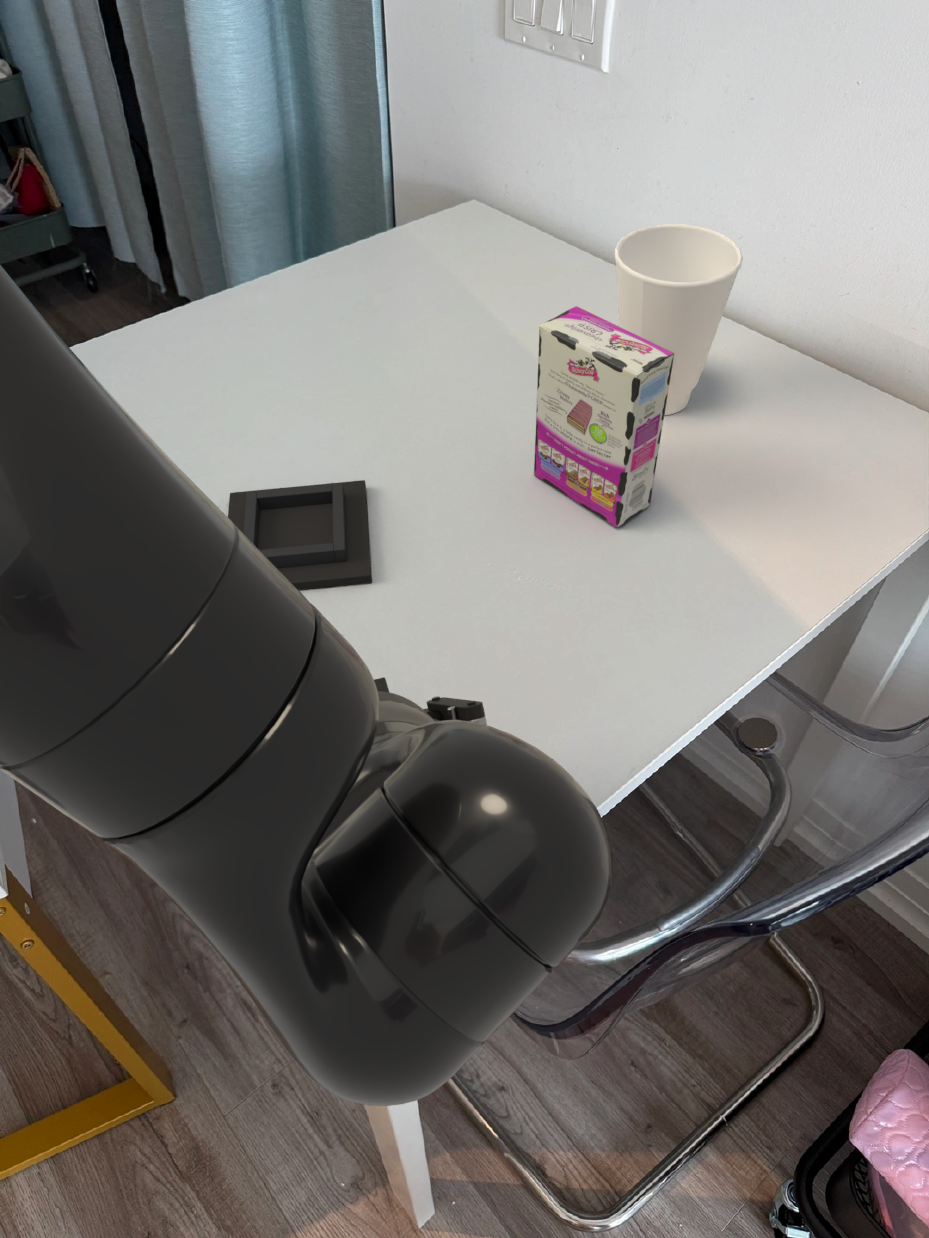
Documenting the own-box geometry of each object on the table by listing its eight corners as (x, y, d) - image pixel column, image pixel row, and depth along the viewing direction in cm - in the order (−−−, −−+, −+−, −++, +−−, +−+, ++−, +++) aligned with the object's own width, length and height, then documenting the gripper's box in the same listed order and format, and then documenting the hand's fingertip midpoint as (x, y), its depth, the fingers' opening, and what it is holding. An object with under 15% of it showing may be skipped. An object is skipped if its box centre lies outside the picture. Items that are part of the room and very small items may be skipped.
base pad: (223, 598, 79) (216, 578, 77) (231, 500, 88) (226, 480, 86) (371, 583, 80) (368, 563, 78) (366, 487, 88) (363, 467, 86)
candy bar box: (653, 505, 85) (679, 352, 73) (617, 531, 83) (638, 377, 71) (566, 452, 91) (576, 301, 79) (531, 475, 89) (536, 323, 77)
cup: (733, 390, 97) (766, 246, 85) (674, 444, 91) (701, 298, 79) (640, 353, 102) (658, 211, 90) (578, 401, 97) (589, 258, 85)
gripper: (511, 667, 43) (450, 644, 59) (205, 741, 40) (232, 695, 57) (544, 819, 43) (475, 754, 60) (244, 902, 41) (259, 810, 58)
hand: (356, 726), depth 58 cm, fingers closed on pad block, 4 cm apart
